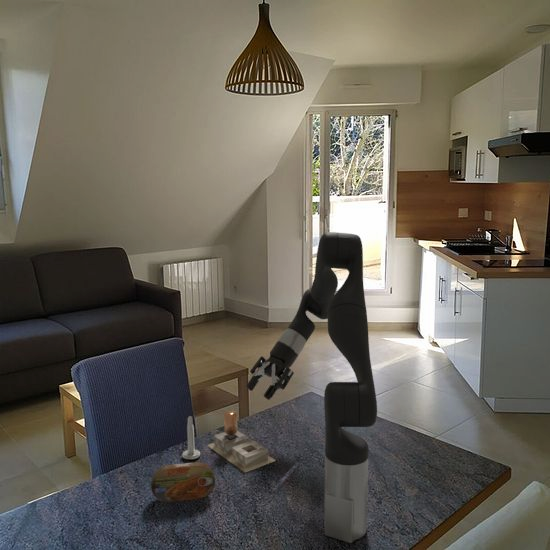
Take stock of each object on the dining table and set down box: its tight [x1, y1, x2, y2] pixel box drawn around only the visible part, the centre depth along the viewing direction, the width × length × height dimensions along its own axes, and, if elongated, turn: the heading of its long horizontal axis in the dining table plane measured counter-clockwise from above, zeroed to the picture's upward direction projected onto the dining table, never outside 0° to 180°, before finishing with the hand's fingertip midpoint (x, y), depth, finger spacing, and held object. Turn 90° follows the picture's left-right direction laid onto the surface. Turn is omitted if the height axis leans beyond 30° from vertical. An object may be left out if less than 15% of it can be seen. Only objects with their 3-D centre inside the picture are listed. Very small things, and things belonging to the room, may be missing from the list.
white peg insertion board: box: [206, 430, 277, 473], centre depth 154 cm, size 19×10×4 cm, turn 38°
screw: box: [181, 415, 201, 461], centre depth 151 cm, size 13×5×5 cm
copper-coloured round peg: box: [223, 410, 239, 440], centre depth 157 cm, size 4×4×10 cm
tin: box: [150, 461, 216, 503], centre depth 134 cm, size 15×3×8 cm, turn 99°
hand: (257, 393), depth 161 cm, fingers open, 8 cm apart
